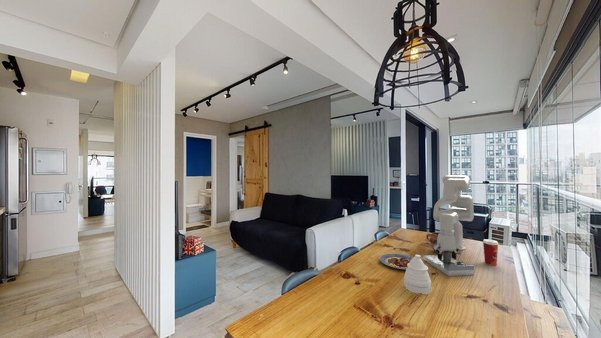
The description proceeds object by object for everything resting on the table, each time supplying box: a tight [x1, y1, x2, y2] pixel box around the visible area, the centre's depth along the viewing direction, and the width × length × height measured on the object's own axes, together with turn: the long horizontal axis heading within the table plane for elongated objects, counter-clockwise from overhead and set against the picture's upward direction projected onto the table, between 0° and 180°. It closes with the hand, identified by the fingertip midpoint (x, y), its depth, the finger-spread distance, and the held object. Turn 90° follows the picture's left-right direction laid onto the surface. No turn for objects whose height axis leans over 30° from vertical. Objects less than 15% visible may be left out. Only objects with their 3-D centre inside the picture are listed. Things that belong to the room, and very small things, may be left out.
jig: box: [423, 254, 475, 277], centre depth 146 cm, size 24×16×5 cm, turn 4°
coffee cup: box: [482, 238, 499, 266], centre depth 151 cm, size 8×8×15 cm
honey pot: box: [403, 254, 432, 295], centre depth 121 cm, size 13×13×18 cm
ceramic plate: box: [379, 253, 414, 270], centre depth 152 cm, size 26×26×3 cm
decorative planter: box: [425, 231, 443, 255], centre depth 173 cm, size 20×12×14 cm, turn 31°
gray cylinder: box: [442, 251, 452, 264], centre depth 146 cm, size 4×4×10 cm
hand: (446, 259), depth 146 cm, fingers open, 9 cm apart
